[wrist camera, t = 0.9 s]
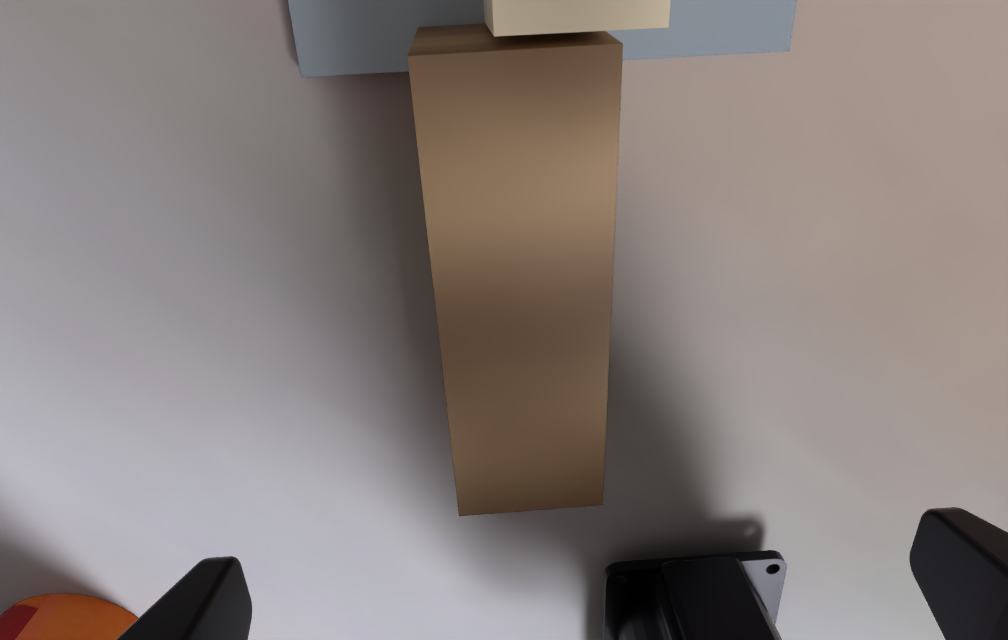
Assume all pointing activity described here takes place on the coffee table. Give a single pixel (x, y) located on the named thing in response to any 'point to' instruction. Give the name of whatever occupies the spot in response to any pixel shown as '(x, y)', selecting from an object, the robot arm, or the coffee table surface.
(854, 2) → the coffee table surface
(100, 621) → the coffee cup
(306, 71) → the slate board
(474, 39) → the walnut rod
